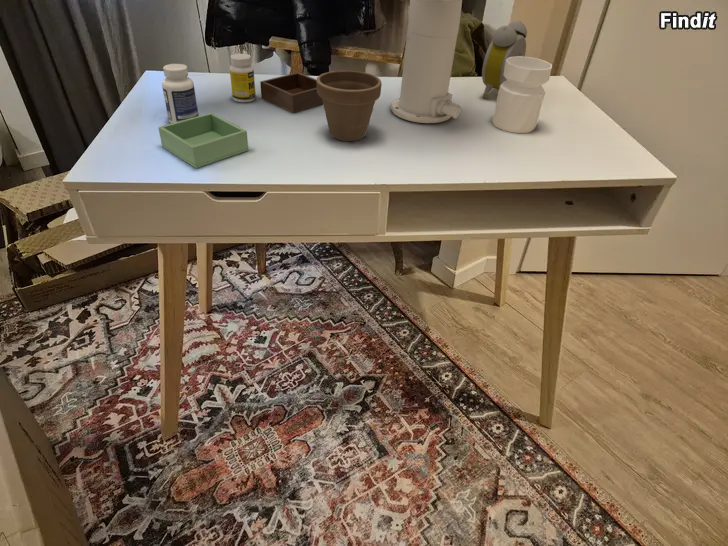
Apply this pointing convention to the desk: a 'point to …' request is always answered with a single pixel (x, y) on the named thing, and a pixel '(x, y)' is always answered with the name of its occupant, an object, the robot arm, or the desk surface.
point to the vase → (521, 94)
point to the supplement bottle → (242, 78)
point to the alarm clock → (502, 53)
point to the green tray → (203, 139)
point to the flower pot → (348, 101)
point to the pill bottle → (179, 93)
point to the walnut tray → (291, 92)
